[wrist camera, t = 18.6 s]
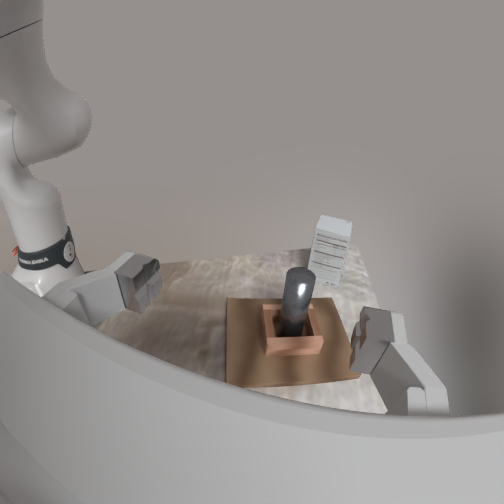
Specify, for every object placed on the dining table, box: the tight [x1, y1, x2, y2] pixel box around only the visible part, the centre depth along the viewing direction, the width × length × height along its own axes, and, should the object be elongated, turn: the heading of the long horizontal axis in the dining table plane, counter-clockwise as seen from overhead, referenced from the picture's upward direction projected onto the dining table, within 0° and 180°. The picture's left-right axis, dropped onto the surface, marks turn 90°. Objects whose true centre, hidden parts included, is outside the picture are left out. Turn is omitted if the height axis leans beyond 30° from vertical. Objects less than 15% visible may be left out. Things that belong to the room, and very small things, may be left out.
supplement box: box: [307, 215, 353, 288], centre depth 56 cm, size 7×7×13 cm
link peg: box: [277, 267, 316, 337], centre depth 40 cm, size 4×4×12 cm
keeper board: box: [226, 298, 361, 388], centre depth 42 cm, size 20×18×4 cm
